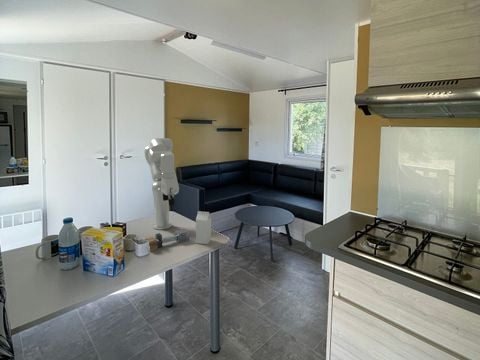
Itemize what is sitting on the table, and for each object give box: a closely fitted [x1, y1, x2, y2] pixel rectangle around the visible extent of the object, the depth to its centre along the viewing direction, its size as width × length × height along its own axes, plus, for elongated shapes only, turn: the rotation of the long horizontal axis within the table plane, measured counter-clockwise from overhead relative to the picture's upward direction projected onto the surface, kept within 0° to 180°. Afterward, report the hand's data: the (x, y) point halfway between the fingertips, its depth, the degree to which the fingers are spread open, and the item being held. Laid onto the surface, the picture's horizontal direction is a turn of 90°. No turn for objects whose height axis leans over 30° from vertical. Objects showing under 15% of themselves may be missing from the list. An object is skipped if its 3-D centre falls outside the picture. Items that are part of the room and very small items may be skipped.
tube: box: [154, 232, 178, 248], centre depth 162 cm, size 4×17×7 cm, turn 127°
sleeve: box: [174, 228, 190, 244], centre depth 168 cm, size 5×7×6 cm
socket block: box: [144, 235, 158, 252], centre depth 157 cm, size 7×4×6 cm, turn 37°
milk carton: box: [195, 210, 212, 245], centre depth 166 cm, size 7×7×19 cm
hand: (168, 202), depth 165 cm, fingers open, 9 cm apart
